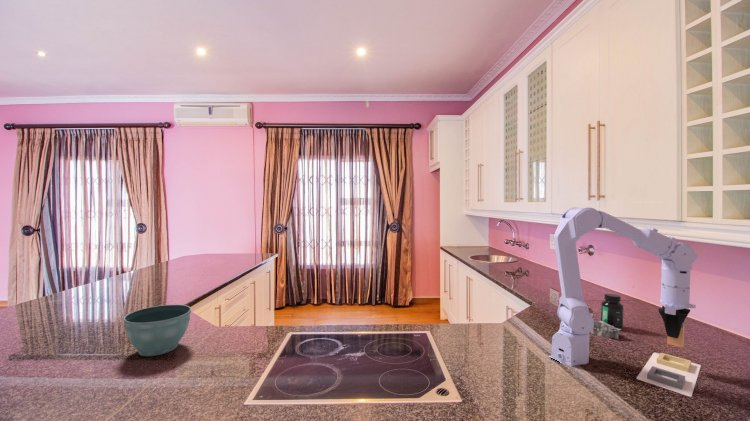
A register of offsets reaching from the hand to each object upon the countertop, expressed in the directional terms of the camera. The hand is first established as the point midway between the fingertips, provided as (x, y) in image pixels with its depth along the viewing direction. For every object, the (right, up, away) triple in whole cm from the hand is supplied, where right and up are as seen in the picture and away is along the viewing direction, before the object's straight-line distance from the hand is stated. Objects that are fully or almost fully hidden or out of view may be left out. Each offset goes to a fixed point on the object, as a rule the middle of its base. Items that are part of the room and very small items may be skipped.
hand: (673, 335), depth 87 cm
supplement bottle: (+7, -10, +32) cm, 34 cm away
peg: (0, -2, 0) cm, 2 cm away
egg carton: (-1, -10, +26) cm, 28 cm away
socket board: (-3, -10, -2) cm, 10 cm away
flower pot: (-145, -7, +6) cm, 145 cm away
